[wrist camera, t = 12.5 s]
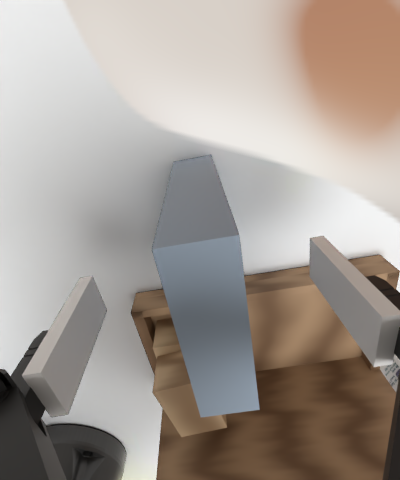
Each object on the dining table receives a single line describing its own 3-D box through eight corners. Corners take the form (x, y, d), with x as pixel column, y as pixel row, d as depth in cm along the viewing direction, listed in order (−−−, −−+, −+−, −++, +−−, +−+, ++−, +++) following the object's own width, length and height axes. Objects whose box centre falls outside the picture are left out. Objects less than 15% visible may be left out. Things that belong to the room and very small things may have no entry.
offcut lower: (173, 371, 32) (171, 401, 29) (156, 320, 28) (152, 348, 25) (216, 365, 31) (219, 394, 28) (205, 312, 28) (207, 340, 25)
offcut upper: (182, 400, 29) (181, 437, 26) (157, 356, 25) (152, 392, 22) (223, 390, 28) (227, 427, 25) (202, 344, 25) (204, 380, 22)
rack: (167, 381, 34) (157, 511, 23) (136, 293, 28) (102, 416, 17) (364, 354, 33) (447, 477, 22) (380, 254, 26) (508, 362, 16)
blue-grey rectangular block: (195, 266, 26) (200, 417, 14) (173, 161, 22) (151, 249, 9) (226, 261, 26) (259, 409, 14) (211, 154, 22) (239, 234, 9)
